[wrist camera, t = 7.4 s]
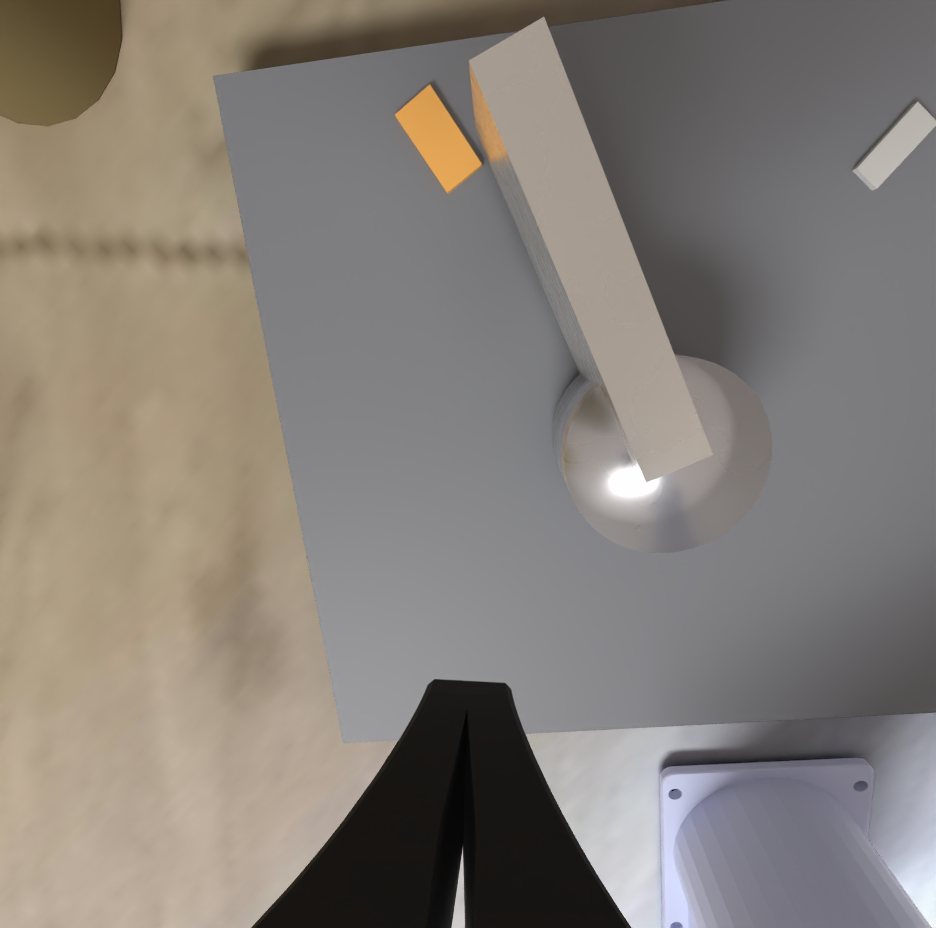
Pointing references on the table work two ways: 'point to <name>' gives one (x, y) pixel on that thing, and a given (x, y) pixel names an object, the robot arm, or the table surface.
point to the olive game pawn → (56, 57)
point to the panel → (553, 369)
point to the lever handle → (612, 327)
